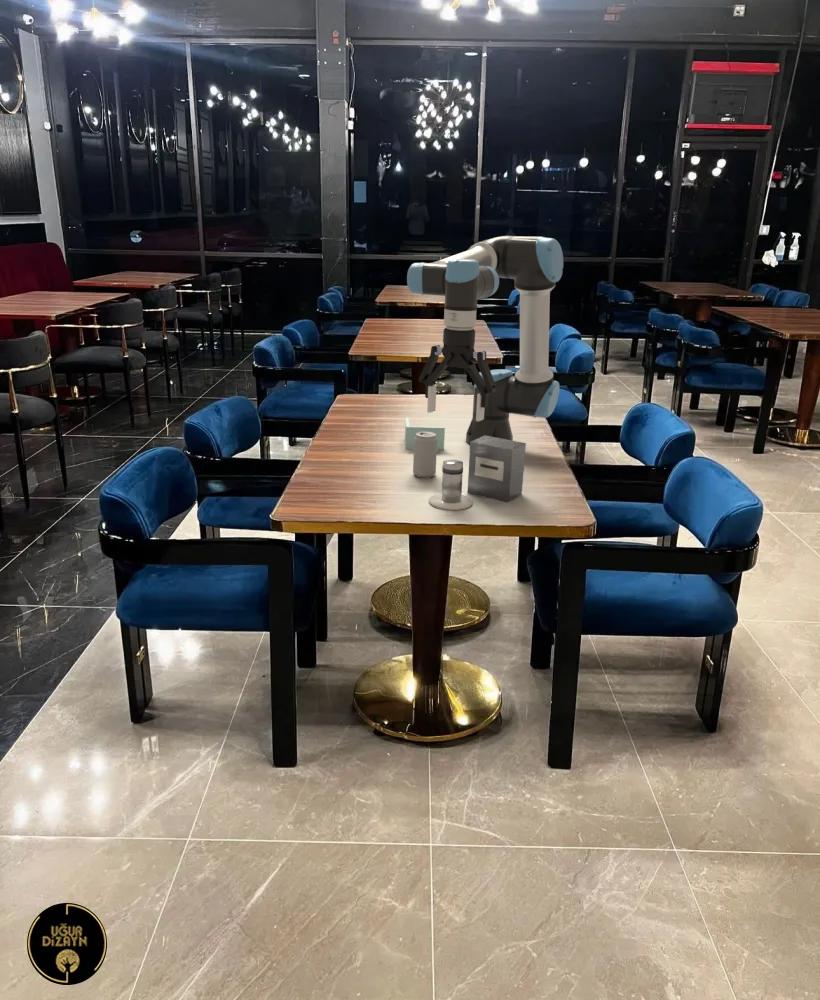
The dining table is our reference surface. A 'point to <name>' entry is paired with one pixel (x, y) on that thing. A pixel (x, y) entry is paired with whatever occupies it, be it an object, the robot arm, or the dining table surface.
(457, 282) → the robot arm
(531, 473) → the dining table surface
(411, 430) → the l-shaped corner panel
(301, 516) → the dining table surface
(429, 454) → the beverage can
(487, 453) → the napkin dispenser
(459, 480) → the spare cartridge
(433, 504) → the stone coaster
